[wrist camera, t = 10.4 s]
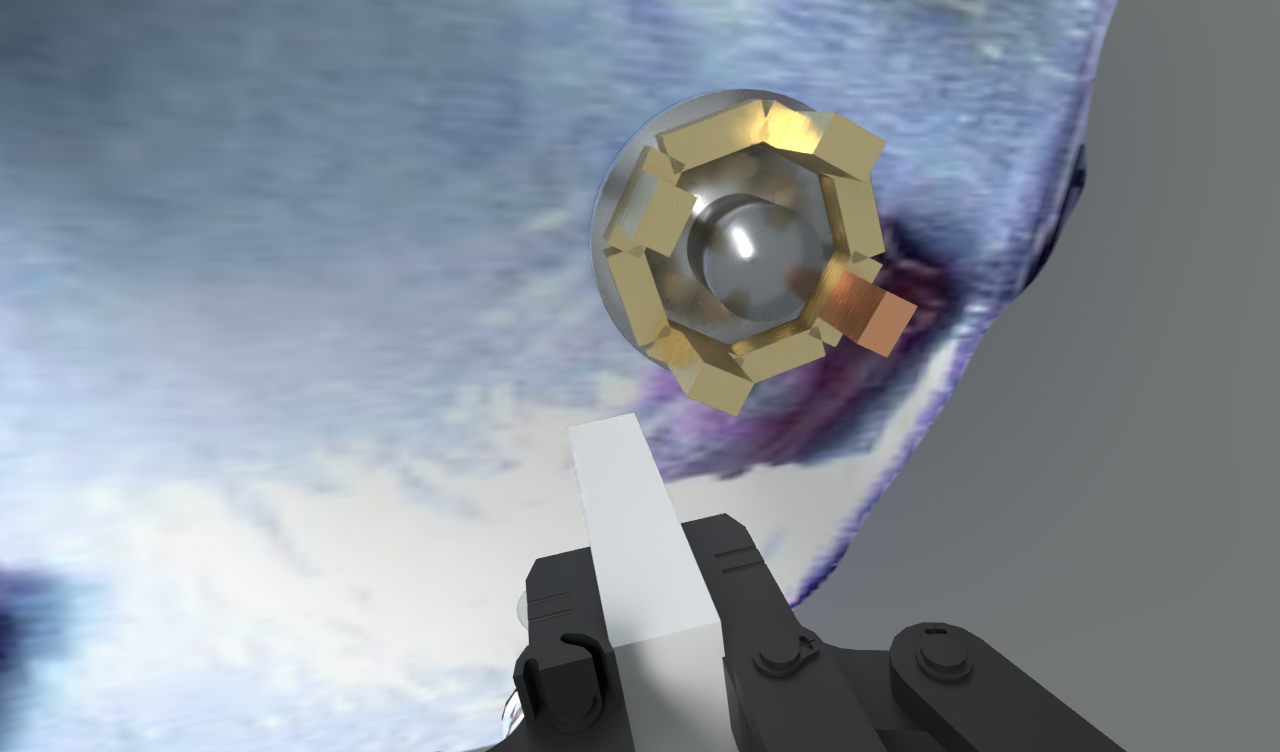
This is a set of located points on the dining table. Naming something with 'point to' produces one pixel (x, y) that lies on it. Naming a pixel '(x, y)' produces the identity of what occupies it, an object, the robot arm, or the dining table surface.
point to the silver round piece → (725, 233)
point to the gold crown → (844, 287)
